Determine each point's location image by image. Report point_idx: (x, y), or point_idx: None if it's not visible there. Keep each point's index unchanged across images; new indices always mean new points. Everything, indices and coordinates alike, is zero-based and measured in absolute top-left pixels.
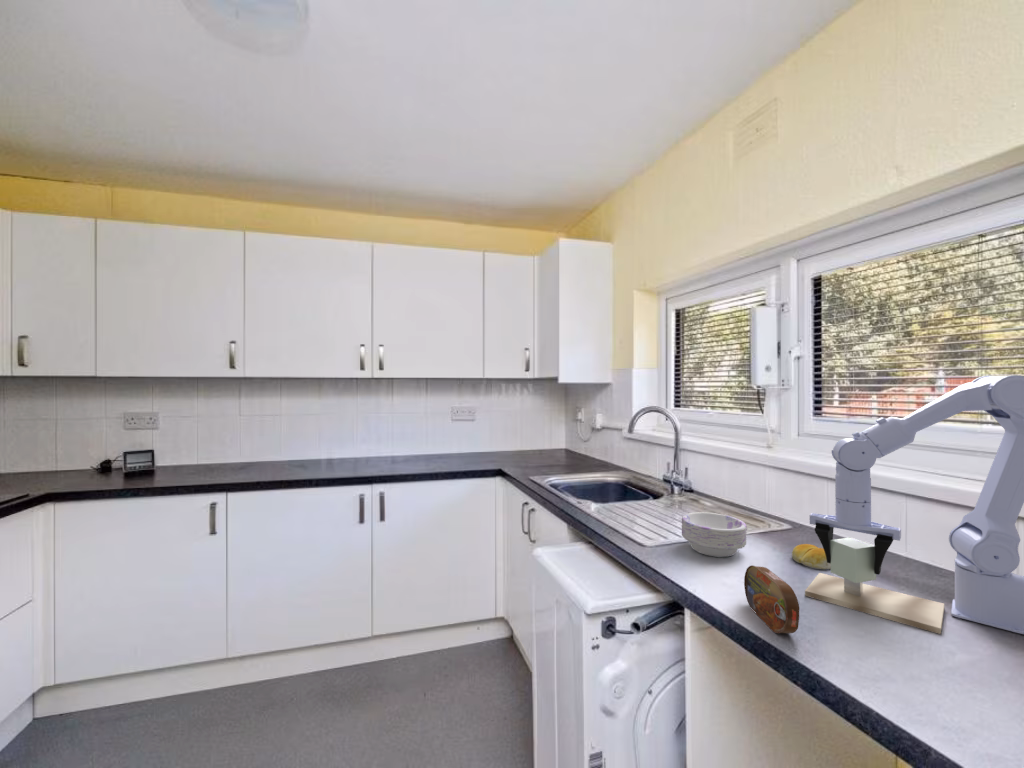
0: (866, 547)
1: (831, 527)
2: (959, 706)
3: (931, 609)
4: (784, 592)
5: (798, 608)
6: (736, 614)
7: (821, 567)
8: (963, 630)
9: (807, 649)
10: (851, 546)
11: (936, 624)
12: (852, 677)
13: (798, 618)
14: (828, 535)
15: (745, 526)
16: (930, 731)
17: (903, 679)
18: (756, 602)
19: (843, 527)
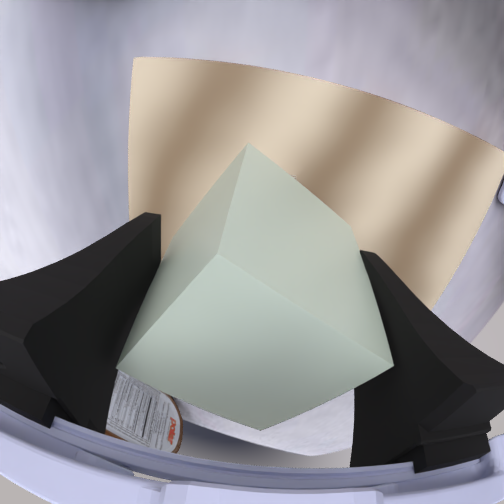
0: (321, 404)
1: (64, 399)
2: (347, 427)
3: (464, 218)
4: None
5: (178, 450)
6: None
7: None
8: (479, 260)
9: (201, 411)
10: (239, 415)
11: (430, 300)
12: (253, 430)
13: (181, 438)
14: (105, 413)
15: None
16: (308, 448)
17: (307, 419)
18: None
19: (163, 474)
